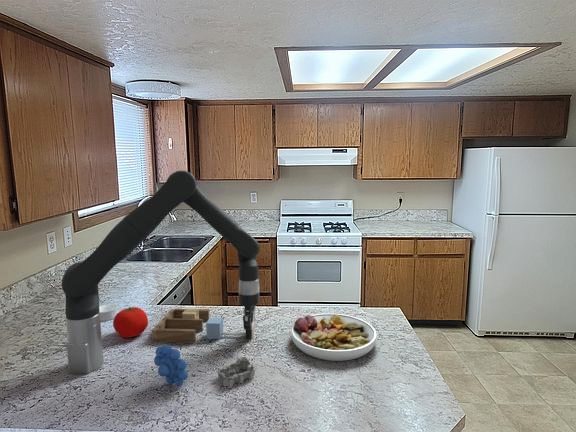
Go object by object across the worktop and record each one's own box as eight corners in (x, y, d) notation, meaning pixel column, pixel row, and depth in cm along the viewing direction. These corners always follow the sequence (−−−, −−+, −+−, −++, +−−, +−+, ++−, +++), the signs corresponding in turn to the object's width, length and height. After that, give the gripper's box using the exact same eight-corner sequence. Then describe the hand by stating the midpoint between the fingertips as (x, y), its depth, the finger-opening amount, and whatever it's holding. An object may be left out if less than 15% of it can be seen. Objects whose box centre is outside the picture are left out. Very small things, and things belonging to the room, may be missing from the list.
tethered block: (252, 340, 137) (252, 324, 136) (206, 338, 138) (206, 323, 137) (254, 333, 142) (254, 318, 141) (210, 332, 143) (209, 317, 142)
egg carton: (247, 367, 120) (246, 355, 119) (258, 378, 114) (258, 366, 113) (215, 377, 114) (214, 364, 114) (225, 390, 108) (224, 376, 107)
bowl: (377, 330, 146) (378, 310, 145) (373, 371, 117) (374, 347, 116) (302, 321, 154) (302, 303, 153) (281, 358, 125) (280, 335, 124)
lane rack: (194, 343, 135) (194, 331, 135) (152, 341, 136) (151, 330, 136) (209, 319, 155) (209, 309, 154) (172, 318, 156) (172, 308, 155)
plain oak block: (195, 328, 147) (194, 313, 147) (182, 328, 148) (182, 313, 147) (199, 322, 152) (198, 308, 152) (186, 322, 153) (186, 308, 152)
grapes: (145, 387, 109) (142, 348, 107) (161, 375, 115) (159, 338, 113) (177, 397, 104) (175, 356, 103) (193, 384, 110) (191, 345, 109)
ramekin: (89, 321, 154) (89, 311, 154) (105, 312, 163) (104, 303, 162) (108, 323, 152) (107, 313, 152) (122, 314, 161) (122, 304, 160)
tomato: (134, 325, 150) (132, 300, 148) (155, 332, 144) (153, 306, 142) (108, 337, 140) (106, 310, 139) (129, 345, 134) (127, 317, 132)
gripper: (256, 297, 130) (257, 344, 132) (261, 284, 144) (262, 327, 146) (234, 297, 130) (236, 344, 133) (242, 284, 144) (243, 326, 147)
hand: (249, 335), depth 140 cm, fingers open, 4 cm apart
